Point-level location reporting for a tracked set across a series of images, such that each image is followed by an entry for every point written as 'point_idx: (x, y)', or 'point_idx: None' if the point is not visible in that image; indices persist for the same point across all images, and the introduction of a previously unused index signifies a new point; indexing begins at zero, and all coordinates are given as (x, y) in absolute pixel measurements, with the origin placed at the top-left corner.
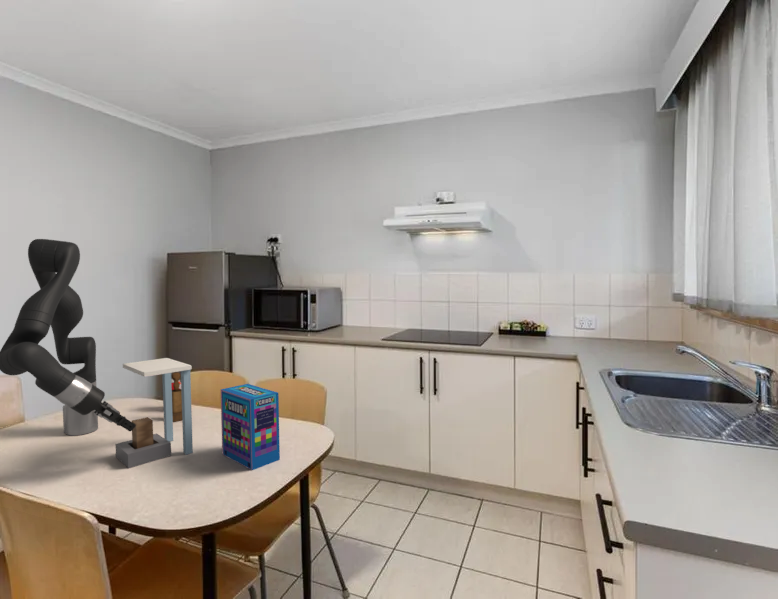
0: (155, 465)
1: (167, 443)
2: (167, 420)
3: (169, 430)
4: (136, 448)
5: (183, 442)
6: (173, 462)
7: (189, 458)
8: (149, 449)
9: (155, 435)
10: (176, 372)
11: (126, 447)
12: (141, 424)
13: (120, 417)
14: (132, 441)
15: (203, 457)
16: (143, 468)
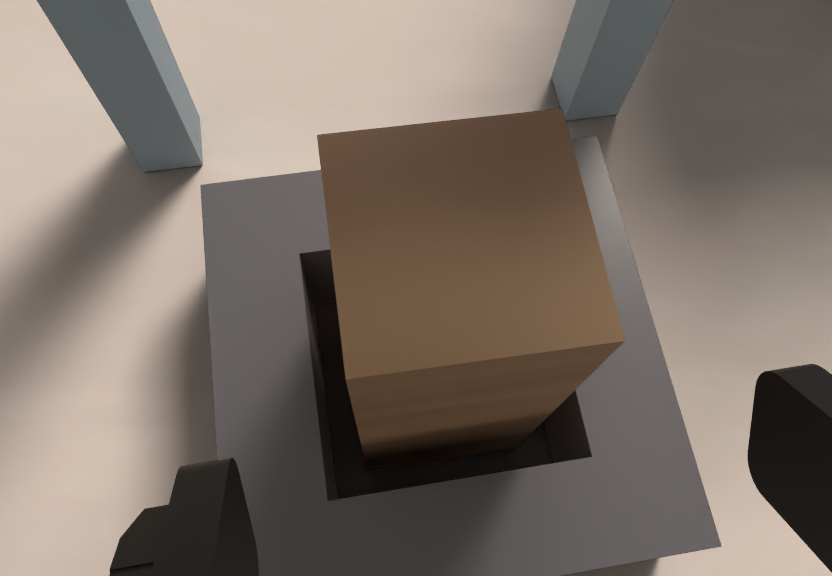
0: (717, 341)
1: (603, 163)
2: (134, 3)
3: (171, 75)
4: (511, 432)
5: (597, 58)
6: (728, 218)
7: (708, 113)
8: (650, 328)
9: (263, 206)
10: None
11: (466, 529)
12: (598, 273)
13: (228, 567)
14: (369, 445)
15: (743, 40)
16: (734, 435)
